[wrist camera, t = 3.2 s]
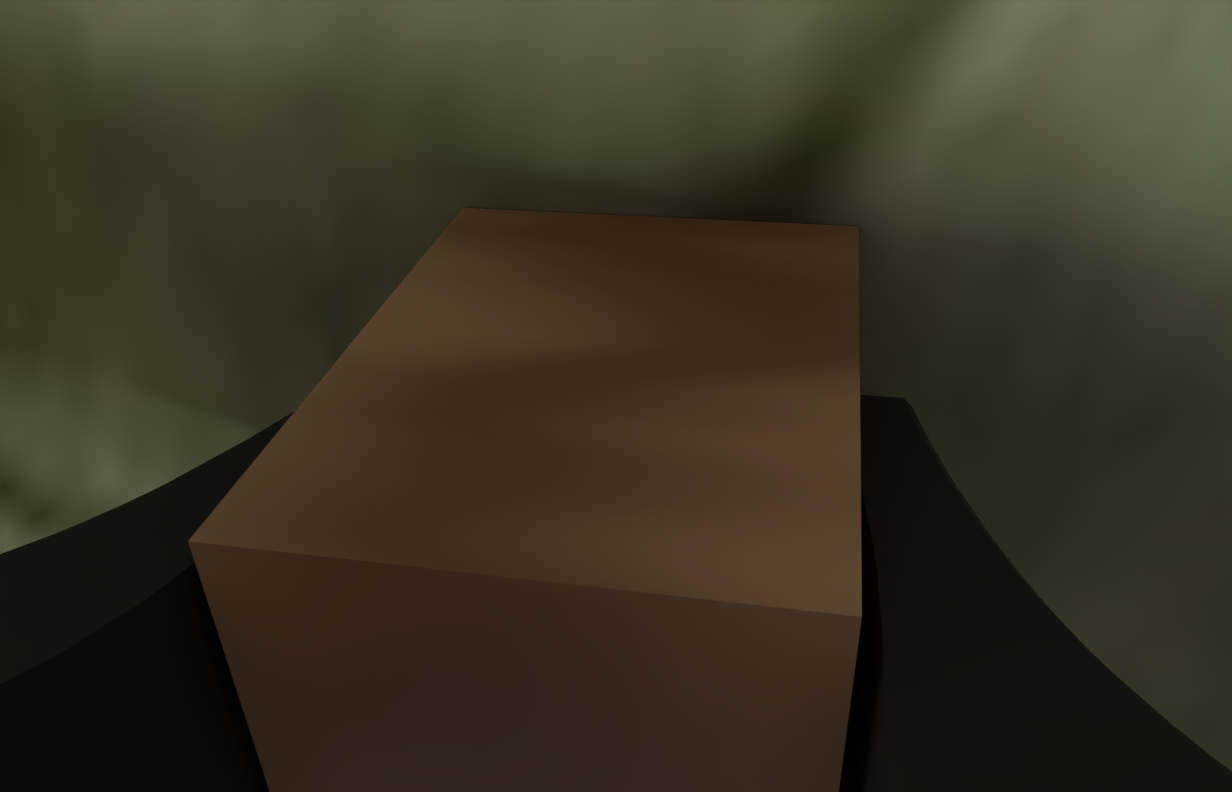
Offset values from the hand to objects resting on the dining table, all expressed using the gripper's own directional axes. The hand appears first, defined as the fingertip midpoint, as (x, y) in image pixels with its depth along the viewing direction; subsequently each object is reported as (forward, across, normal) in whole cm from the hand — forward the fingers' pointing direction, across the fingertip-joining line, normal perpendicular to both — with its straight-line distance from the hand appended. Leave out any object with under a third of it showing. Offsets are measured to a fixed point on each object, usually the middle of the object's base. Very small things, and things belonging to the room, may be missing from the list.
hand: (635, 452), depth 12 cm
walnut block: (+1, 0, 0) cm, 1 cm away
